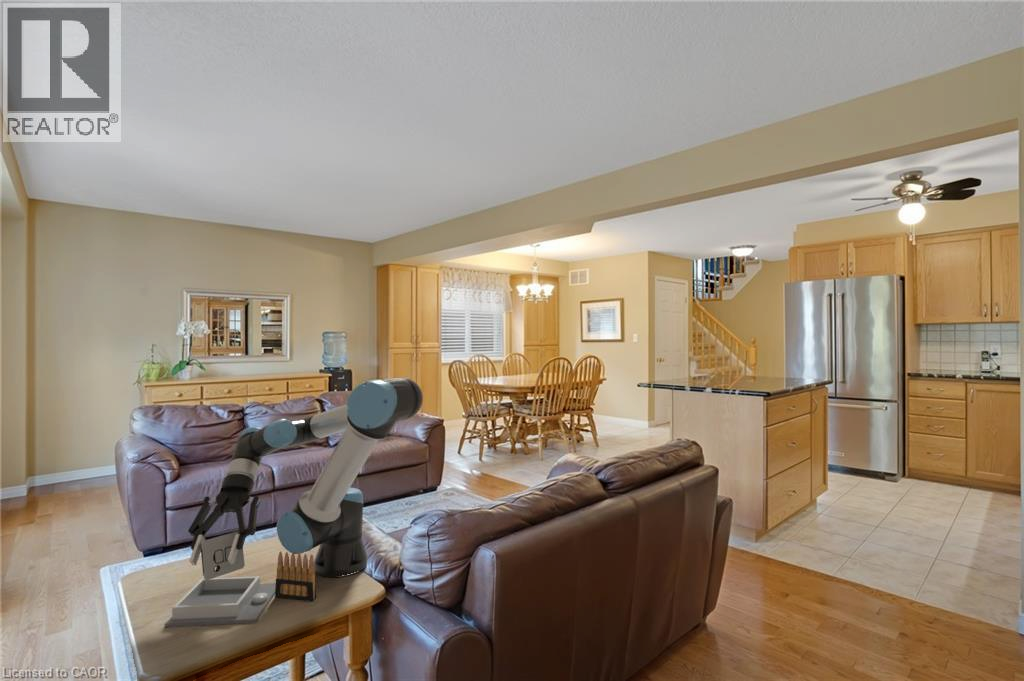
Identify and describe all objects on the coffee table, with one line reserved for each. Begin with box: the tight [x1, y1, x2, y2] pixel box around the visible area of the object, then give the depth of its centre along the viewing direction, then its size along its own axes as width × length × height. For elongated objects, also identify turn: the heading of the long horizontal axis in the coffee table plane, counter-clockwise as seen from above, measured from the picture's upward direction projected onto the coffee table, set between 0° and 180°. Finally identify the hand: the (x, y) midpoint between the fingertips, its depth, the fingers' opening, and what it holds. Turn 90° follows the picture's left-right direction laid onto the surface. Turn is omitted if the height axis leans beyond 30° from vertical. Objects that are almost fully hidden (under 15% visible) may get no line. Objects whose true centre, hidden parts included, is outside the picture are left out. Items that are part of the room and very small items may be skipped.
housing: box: [164, 575, 276, 628], centre depth 127 cm, size 20×18×4 cm
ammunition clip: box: [274, 551, 317, 603], centre depth 131 cm, size 11×2×12 cm, turn 82°
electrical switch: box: [200, 530, 246, 580], centre depth 127 cm, size 9×5×9 cm, turn 142°
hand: (211, 562), depth 124 cm, fingers closed on electrical switch, 8 cm apart
